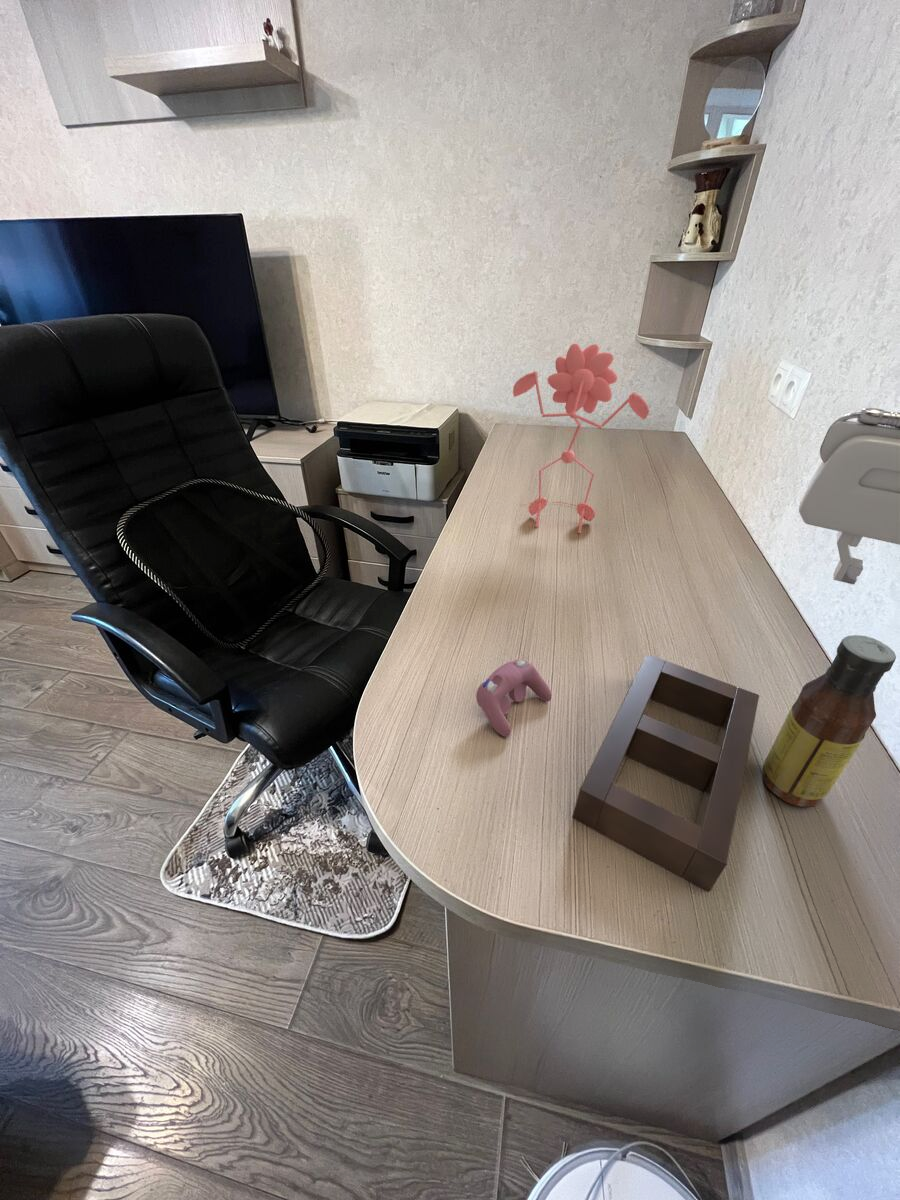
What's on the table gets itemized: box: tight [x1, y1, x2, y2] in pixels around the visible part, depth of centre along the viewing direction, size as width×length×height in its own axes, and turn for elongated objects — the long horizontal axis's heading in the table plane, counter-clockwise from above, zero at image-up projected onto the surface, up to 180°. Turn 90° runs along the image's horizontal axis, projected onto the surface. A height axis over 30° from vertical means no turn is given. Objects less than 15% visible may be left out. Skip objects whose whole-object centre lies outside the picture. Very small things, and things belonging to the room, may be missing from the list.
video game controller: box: [475, 659, 552, 738], centre depth 64 cm, size 10×5×7 cm, turn 135°
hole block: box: [572, 653, 760, 893], centre depth 56 cm, size 14×24×5 cm, turn 147°
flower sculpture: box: [512, 343, 650, 538], centre depth 102 cm, size 15×26×35 cm, turn 74°
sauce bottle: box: [761, 634, 897, 808], centre depth 50 cm, size 7×6×20 cm
